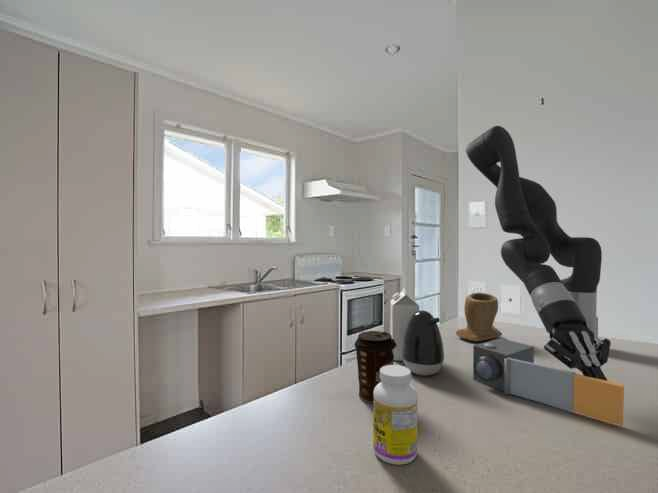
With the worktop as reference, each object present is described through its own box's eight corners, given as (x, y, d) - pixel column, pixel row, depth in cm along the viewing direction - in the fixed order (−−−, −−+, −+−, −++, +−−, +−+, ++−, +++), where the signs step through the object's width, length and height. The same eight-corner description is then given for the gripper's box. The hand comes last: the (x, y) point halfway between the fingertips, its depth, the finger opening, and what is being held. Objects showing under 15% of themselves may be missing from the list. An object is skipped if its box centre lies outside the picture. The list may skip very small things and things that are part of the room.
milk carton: (415, 353, 99) (415, 287, 99) (419, 361, 92) (419, 291, 92) (390, 352, 100) (390, 286, 100) (392, 361, 93) (392, 290, 93)
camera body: (500, 369, 87) (500, 336, 86) (533, 381, 80) (534, 344, 80) (465, 382, 79) (466, 345, 79) (498, 395, 72) (499, 355, 72)
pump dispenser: (421, 383, 78) (422, 317, 78) (393, 368, 88) (393, 308, 87) (454, 375, 83) (454, 312, 83) (423, 361, 92) (423, 305, 92)
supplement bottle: (369, 441, 56) (369, 362, 56) (409, 439, 57) (409, 361, 56) (378, 468, 49) (378, 379, 49) (423, 466, 50) (424, 378, 50)
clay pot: (480, 347, 105) (480, 298, 104) (450, 337, 115) (450, 292, 115) (513, 340, 112) (513, 294, 111) (482, 331, 122) (482, 289, 122)
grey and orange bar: (623, 424, 60) (624, 383, 60) (622, 427, 59) (623, 386, 59) (506, 390, 74) (506, 357, 74) (503, 393, 73) (503, 359, 72)
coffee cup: (399, 391, 74) (399, 331, 74) (393, 409, 66) (393, 342, 66) (359, 386, 77) (359, 328, 77) (349, 402, 69) (349, 338, 69)
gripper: (576, 316, 78) (623, 395, 66) (519, 317, 78) (556, 397, 66) (596, 297, 72) (650, 380, 61) (534, 298, 72) (577, 382, 60)
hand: (601, 389), depth 63 cm, fingers closed
